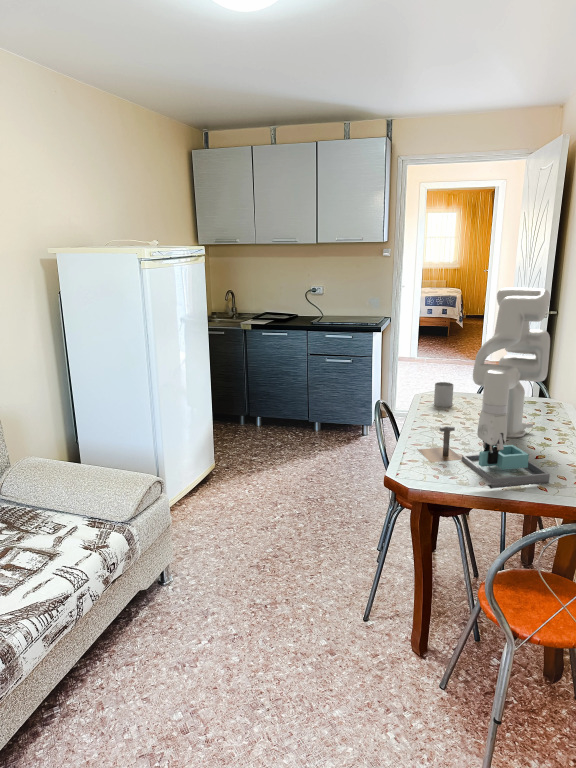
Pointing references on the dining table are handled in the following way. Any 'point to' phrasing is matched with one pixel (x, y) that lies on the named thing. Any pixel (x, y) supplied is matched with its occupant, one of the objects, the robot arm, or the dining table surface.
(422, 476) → the dining table surface
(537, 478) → the tray
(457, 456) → the stake board
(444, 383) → the cup
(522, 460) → the teal hollow frame
